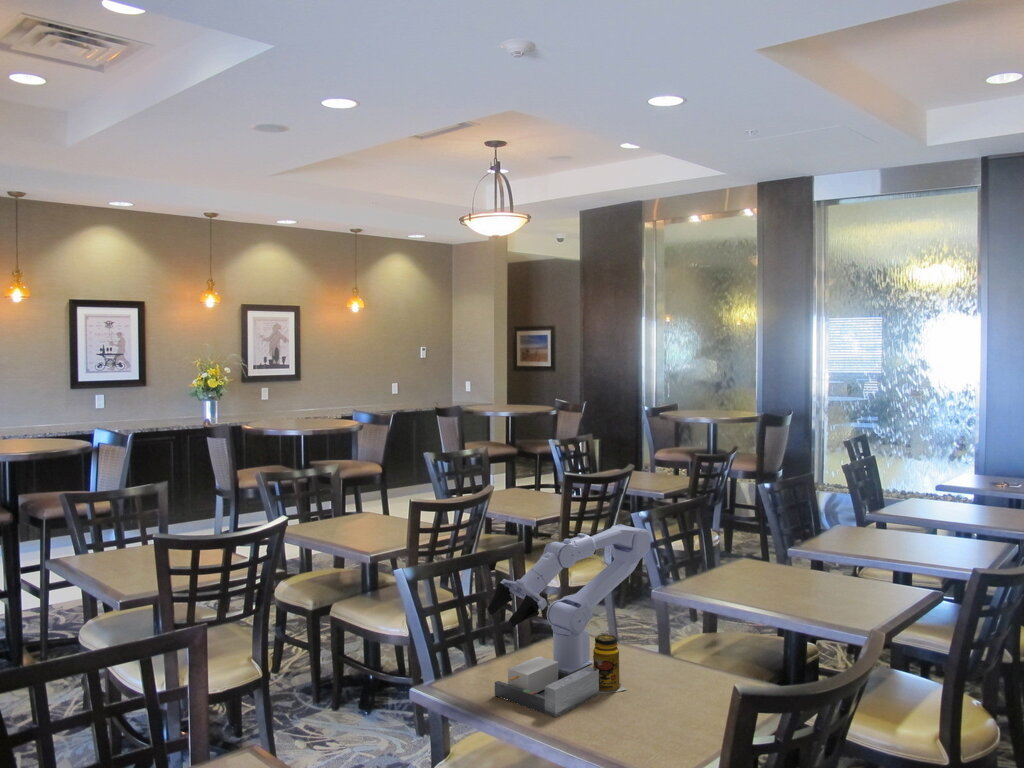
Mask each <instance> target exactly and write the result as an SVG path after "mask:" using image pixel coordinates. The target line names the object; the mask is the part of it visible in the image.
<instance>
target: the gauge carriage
mask: <svg viewBox="0 0 1024 768" xmlns="http://www.w3.org/2000/svg"><path fill="white" fill-rule="evenodd" d="M507 671H508V672H507V674H508V675H507V679H508V680H507V684H509V685H512V686H515V687H518V688H521V689H524V690H525V689H528V690H530V691H533V692H536V693H537V692H540V691H542V690H544V689H545V686H547V685H549V684H551V683H553V682H556V681H558V662H557V661H554V660H553V659H550V658H546V657H545V656H540V655H538V656H536V657H534V658H530V659H528V660H525V661H523V662H522V663H519V664H517V665H514V666H512V667H510V668H507Z"/></svg>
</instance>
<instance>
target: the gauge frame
mask: <svg viewBox="0 0 1024 768" xmlns="http://www.w3.org/2000/svg"><path fill="white" fill-rule="evenodd" d="M599 695H600V694H599V669H596V668H593V667H591V666H589V665H587V666H585V667H583V668H581V669H578V670H576V671H574V672H572V673H570V672H566V671H563V670H560V669H558V681H556V682H553V683H551V684H549V685H547V686H545V689H544V690H542V691H540V692H537V693H536V692H533V691H530V690H528V689H525V690H524V689H521V688H518V687H515V686H512V685H509V684H508V683H506V682H502V681H500V680H496V681H494V696H495V697H496V696H498V697H497V698H499V697H502V698H505V699H508V700H510V701H513V702H515V703H514V704H516V703H518V704H517V705H519V704H520V705H519V706H522V705H523V706H522V707H524V706H526V707H525V708H527V707H529V708H528V709H530V708H532V709H531V710H533V709H534V710H533V711H536V710H537V711H536V712H539V713H541V714H545V715H547V716H550V717H553V718H557V717H559V716H561V715H563V714H565V713H567V712H569V711H572V710H573V709H575V708H577V707H579V706H581V705H583V704H584V703H586V701H587V702H589V701H591V700H592V699H594V698H597V697H598V696H599ZM502 698H501V699H502ZM505 699H504V700H505ZM508 700H507V701H508ZM510 701H509V702H510ZM513 702H512V703H513ZM582 703H583V704H582Z"/></svg>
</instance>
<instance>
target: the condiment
mask: <svg viewBox="0 0 1024 768" xmlns="http://www.w3.org/2000/svg"><path fill="white" fill-rule="evenodd" d="M592 661H593V663H592V665H593V667H592V668H596V669H599V695H601V694H608V693H609V694H611V693H617V692H621V691H626V690H627V691H628V689H627V688H626V687H625V686H624V685H622V684H621V683H620V650H619V647H618V638H617V637H616V635H612V634H607V633H605V634H599V635H597V636H595V638H594V648H593V656H592Z"/></svg>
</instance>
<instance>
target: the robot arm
mask: <svg viewBox="0 0 1024 768" xmlns="http://www.w3.org/2000/svg"><path fill="white" fill-rule="evenodd" d="M651 537H652V536H651V533H650V531H649V530H648V529H646V528H639V527H633V526H629V525H625V524H621V523H620V524H617V525H612V526H611V527H610V528H608V529H606V530H604V531H601V532H598V533H596V534H593V535H591V536H590V535H588V534H587V533H586V534H585V533H583V532H580V533H577V536H575V537H571V538H564V539H563V541H561V542H559V541H552V542H550V543H547V544H545V547H544V549H543V553H542V555H540V557H539V559H538V560H537V561H536V562H535V563H534V564H533V565H532V567H531V568H530V569H529V570H528V571H527V572H526V573H525V574H524V575H522V577H521V578H520V579H518V578H517V579H516V580H509V579H505V578H503V579H501V581H500V582H498V583H497V586H496V589H495V593H494V596H493V598H492V599H491V602H490V603H489V605H488V607H487V609H486V610H487V612H488V614H489V615H491V616H492V615H494V614H496V613H497V612H498V611H499V610H500V609H501V608H502V607H503V606H505V605H506V604H508V603H510V602H512V601H513V600H514V599H513V597H512V595H511V594H513V595H514V596H515V597H516V596H517V597H518V598H521V599H522V602H521V604H520V605H519V606H518V608H517V609H516V610H515V611H514V613H513V614H512V615H511V616H510V618H509V619H508V622H509V624H510V626H511V627H512V628H514V627H515V626H516V627H517V625H519V624H521V623H522V622H524V621H526V620H528V619H530V618H533V617H534V618H535V617H537V616H538V615H540V611H543V610H545V608H546V607H547V611H546V618H547V619H546V620H547V621H548V623H549V624H550V625H551V630H552V636H553V637H552V645H553V647H552V648H553V649H552V654H553V657H552V660H554V661H557V662H558V669H560V670H563V671H566V672H570V673H575V672H577V671H579V670H581V669H584V668H586V667H588V666H589V665H591V664H593V662H594V660H591V659H590V658H591V655H590V654H591V651H590V650H591V649H590V647H591V646H590V645H591V644H590V643H591V641H590V640H591V639H590V634H589V633H588V631H587V630H586V628H587V626H588V624H589V622H590V621H591V620H592V619H593V616H594V615H593V608H595V606H597V605H598V604H599V603H600V602H601V601H602V600H604V599H605V597H607V595H609V594H610V593H611V592H612V591H613V590H615V588H616V587H618V586H619V585H620V584H621V583H622V582H623V581H625V580H626V579H627V578H628V577H629V576H630V575H631V574H632V573H633V572H634V571H635V570H636V567H637V566H638V564H639V562H640V560H641V559H642V558H643V557H645V556H646V555H647V553H649V552H650V550H651V542H652V538H651ZM608 546H611V553H612V554H611V555H612V557H613V561H611V562H610V563H609V564H608V565H606V566H605V568H603V569H602V570H601V571H600V572H599V573H598V574H596V575H595V576H594V577H593V578H592V579H591V580H590V581H589V582H588V583H586V584H585V585H584V586H583V587H581V589H579V590H578V591H577V592H576V593H574V594H569V595H564V596H563V597H562V598H561V599H558V600H554V601H553V602H551V603H550V605H549V606H548V603H547V600H546V599H545V598H544V597H542V596H541V595H540V593H542V592H543V590H544V589H545V588H546V587H547V586H548V585H549V584H550V583H551V582H553V580H554V578H555V577H556V576H558V574H559V573H560V572H561V571H562V570H563V569H564V568H566V569H567V568H570V569H571V568H572V567H573V566H574V565H575V564H576V563H577V561H578V562H579V561H581V560H583V559H586V558H588V557H591V556H593V555H594V553H595V552H596V550H598V549H602V548H606V547H608ZM539 610H540V611H539Z"/></svg>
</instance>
